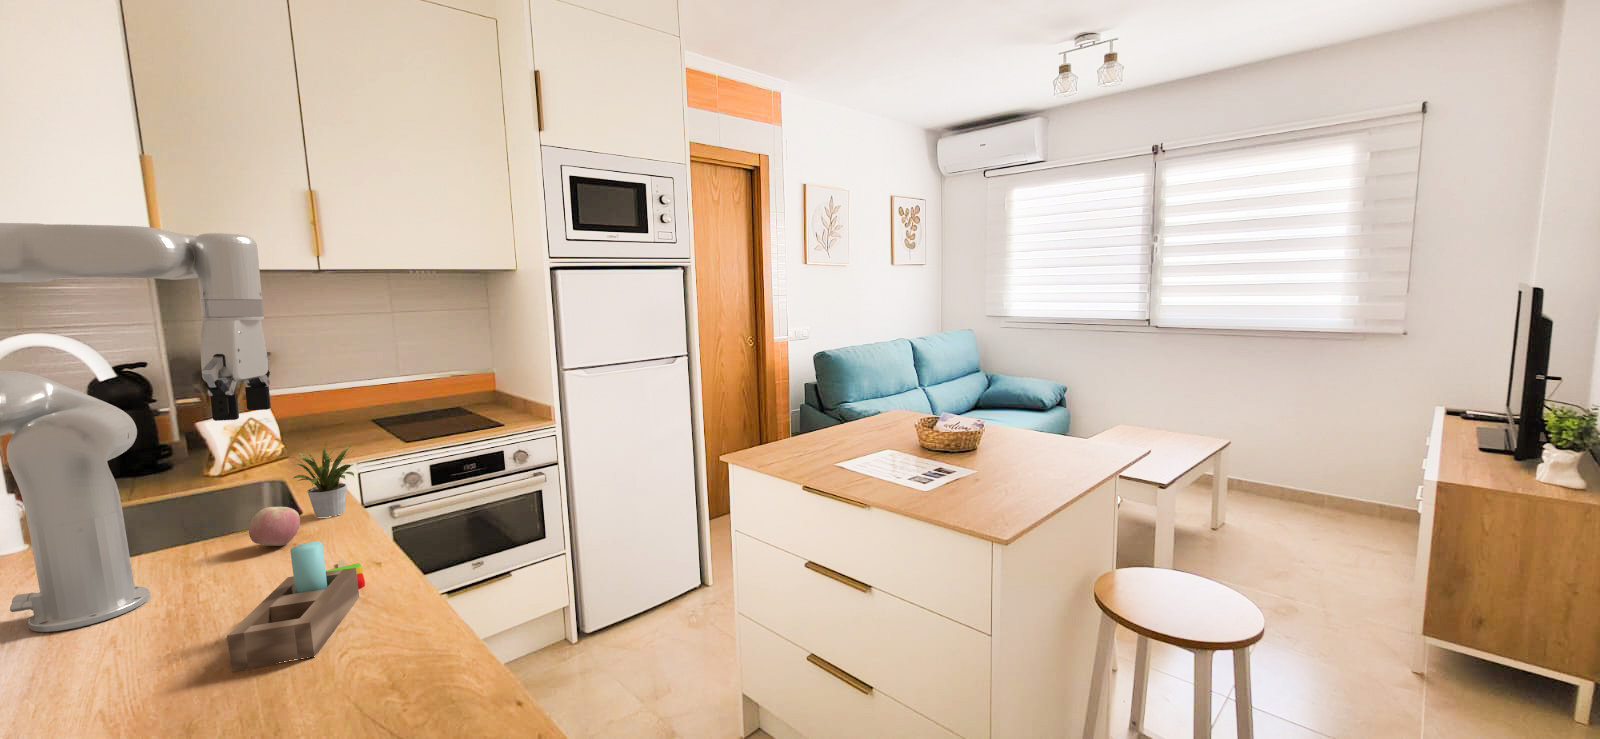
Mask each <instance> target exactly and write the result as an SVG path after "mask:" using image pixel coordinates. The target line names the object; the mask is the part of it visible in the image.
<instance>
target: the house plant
mask: <svg viewBox="0 0 1600 739" xmlns="http://www.w3.org/2000/svg"><path fill="white" fill-rule="evenodd" d="M326 446H327V443H325V444H324V446H323V448H322V456H321V466H318V464H317V463H316V461H315V459H314V457H313V456H312V455H311V453H310V452H308V451H305V450H303V452H305V453H307V455H308V456H309V457H310V458H311V459H310V458H308V457H307V455H305V454H303V453H300V452H298V456H299V457H300V459H297V458H295V457H292V456H287V455H286V456H285V455H280V456H279V455H278V456H276V457H283V458H284V457H286V458H287V457H288V458H292V459H294V460H296V461H298V462H300V463H297V464H294V466H295V465H298V466H300V467H302V468H303V469H304V470H305V471H306V472H307V473H308V474H309V475H310V476H311V477H312V478H311V477H309V476H308V475H305V474H298V475H295V476H293V478H292V480H293V479H298V478H299V479H298V480H297V482H299V481H303V480H305V481H310V482H311V484H312V487H311V488H309V489H308V490H307V494H308V498H309V500H310V503H311V507H312V509H313V512H314V515H315V517H329V516H335V515H338V514H341V513H343V512H344V511H345V512H346V500H347V499H346V498H347V488H348V485H347V484H346V483H342V482H340V480H341V478H342V479H344V480H347V479H346V475H345V474H347V475H351V476H353V478H356V477H355V473H354V472H353V471H347V470H349V469H350V468H351V467H353V466H354V464H353V463H352V464H348V463H347V464H344V465H341V466H340V464H341V462H342V460H344V459H345V457H346V456H347V455H349V454H350V453H352V452H354V450H352V451H350V452H349V453H347V451H348V450H349V449H350V448H352V445H350V446H348V447H345V448H344V449H342V451H341V452H340V453H339V454H338V455H337V457H335V456H334V457H331V458H330V455H331V454H332V453H333V452H334V451H335V450H336V449H337V448H338V446H337V447H335V448H334V449H333V450H332V451H331V452H330V453H328V451H327V450H326ZM346 453H347V454H346ZM332 459H335V460H334V461H333V460H332ZM300 460H302V461H304V462H305V463H306V464H308V465H309V466H310V467H311V469H312V470H313V471H314V472H313V471H312V470H311V469H310V468H309V467H308V466H306V465H305V464H304V463H303V462H302V461H300ZM331 462H333V463H332V467H331V469H330V464H331ZM339 466H340V467H339ZM313 485H314V487H313ZM345 512H344V513H345ZM344 513H343V514H344Z"/></svg>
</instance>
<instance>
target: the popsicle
mask: <svg viewBox="0 0 1600 739" xmlns="http://www.w3.org/2000/svg"><path fill="white" fill-rule="evenodd" d="M350 568H356V573H357V582H358V590H361V589H363V588H364V587H365V586H366V582H365V576H364V573H363V572H364V571H363V567H362V564H361V563H360V562H357V563H352V564H349V565H346V563H345V560H344V559H342V560H341V559H340V560H338V561H337V567H335V568H331V569H325V571H326V572H328V571H336V570H343V569H350Z"/></svg>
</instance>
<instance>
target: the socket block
mask: <svg viewBox="0 0 1600 739" xmlns="http://www.w3.org/2000/svg"><path fill="white" fill-rule="evenodd" d="M326 579H327V588H326V589H324V590H317V591H310V592H303V593H295V584H294V576H293V575H292V576H288V577H287V578H285V579H284V580H283V581H282V582H281V583H280V584H279V585H278V586H277V587H276V588H275V589H274V590H273V591H272V592H271V593H270V594H268V596H266V598H265V599H264V600H262V601H261V602H260V603H259V604H258V605H257V606H256V607H255V608H254V609H253V610H252V611H251V612H250V613H249V614H248V615H246V616H245V617H244V618H243V619H242V620H241V621H240V622H239V623H238V624H237V625H236V626H235V627H234V628H233V629H232V630H231V631H229V632H228V633H227V634H226V639H227V640H226V641H227V649H228V655H229V663H230V669H231V672H232V673H233V671H234V672H238V670H239V671H243V670H251V669H256V668H255V667H257V668H262V667H267V666H266V665H268V666H272V665H271V664H274V665H277V664H276V663H279V662H284V661H289V660H294V659H301V658H307V657H314V656H315V655H316V654H317V655H318V654H319V652H320V651H321V650H322V648H323V647H324V645H325V644H326V643H327V641H329V639H330V637H331V636H332V635H333V633H334V632H335V630H337V628H338V626H339V625H340V624H341V623H342V622H343V620H344V619H345V617H346V616H347V614H348V613H349V612H350V611H351V609H352V607H354V605H355V604H356V602H357V601H358V600H359V598H360V592H359V589H358V582H357V573H356V568H350V569H343V570H336V571H328V572H326ZM317 655H316V656H317ZM316 656H315V657H316ZM315 657H314V658H315Z"/></svg>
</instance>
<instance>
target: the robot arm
mask: <svg viewBox="0 0 1600 739" xmlns="http://www.w3.org/2000/svg"><path fill="white" fill-rule="evenodd" d="M74 278H75V279H76V278H77V279H78V278H86V279H88V278H95V279H96V278H101V279H102V278H105V279H106V278H108V279H109V278H110V279H111V278H112V279H114V278H117V279H118V278H119V279H120V278H125V279H126V278H129V279H130V278H132V279H134V278H135V279H160V280H171V281H175V280H177V281H178V280H188V279H189V280H190V279H197V281H198V292H199V299H200V300H199V302H200V310H201V318H202V319H201V320H202V323H201V332H200V363H201V377H202V379H203V381H204V386H205V388H206V389H207V394H208V396H209V398H210V405H211V406H210V407H211V416H212V420H213V421H215V422H220V421H221V422H222V421H235V420H239V418H240V416H239V415H240V413H239V402H238V394H234V392H235V390H236V386H237V383H238V382H243V381H244V382H245V383H246V385H247V386H246V387H244V391H245V393H244V394H245V402H246V409H247V410H248V411H264V410H266V411H267V410H270V409H271V407H272V404H271V395H270V385H271V382H270V381H271V380H270V379H269V378H270V375H271V372H270V367H271V366H270V365H271V359H270V358H269V357H268V351H267V343H266V338H265V333H264V328H263V324H262V321H261V320H265V317H264V315H265V314H264V313H265V312H264V305H263V303H264V302H263V294H262V284H261V272H260V262H259V252H258V245H257V242H256V241H255V239H254V238H253V237H250V236H248V235H244V234H235V233H224V232H223V233H220V232H218V233H216V232H215V233H214V232H209V233H200V234H199V235H191V234H184V233H177V232H173V231H170V230H169V231H168V230H164V229H161V228H160V229H159V228H155V227H148V226H140V225H138V226H136V225H109V224H108V225H106V224H102V225H101V224H70V223H69V224H68V223H67V224H65V223H64V224H62V223H61V224H58V223H56V224H55V223H54V224H52V223H51V224H45V223H31V222H30V223H27V222H25V223H23V222H0V283H30V284H31V283H48V282H51V281H53V280H57V279H58V280H59V279H74ZM6 434H12V436H11V437H10V439H9V440H8V444H7V447H6V460H7V464H8V467H9V469H10V471H11V473H12V475H13V477H14V481H15V482H16V485H17V487H18V489H19V493H20V496H21V499H22V503H23V504H22V505H23V507H24V513H25V517H26V518H25V519H26V524H27V527H28V531H29V536H30V542H31V549H32V555H33V560H34V565H35V572H36V578H37V583H38V587H39V592H28V593H21V594H16V595H14V596H13V598H12V599H11V604H10V605H9V611H10V612H11V613H16V612H24V611H26V610H30V611H32V613H33V615H32V616H31V617H30V618H29V619H28V622H27V623H28V628H29V629H30V630H31V631H34V632H41V633H45V632H46V633H50V632H59V631H60V632H61V631H65V630H72V629H77V628H81V627H85V626H89V625H94V624H96V623H100V622H104V621H106V620H110V619H113V618H115V617H119V616H120V615H123V614H124V615H125V614H126V613H128V612H130V611H132V610H134V609H137V608H139V607H140V606H142V605H143V604H145V603H146V602H147V601H148V600H149V599H150V597H151V593H150V589H149V588H148V587H145V586H140V585H139V586H138V585H135V582H134V576H133V569H132V561H131V555H130V550H129V545H128V538H127V533H126V532H127V530H126V525H125V519H124V513H123V512H124V511H123V508H122V502H121V497H120V490H119V488H118V484H117V481H116V479H115V477H114V475H113V473H112V471H111V469H110V467H109V463H108V461H111V460H112V459H115V458H117V457H119V456H120V455H122V454H123V453H125V452H127V451H128V450H129V449H130V448H131V447H133V445H134V443H135V441H136V439H137V435H138V429H137V425H136V423H135V421H134V420H133V418H132V417H131V416H130V415H129V413H127V412H125V410H122V409H121V408H119V407H117V406H115V405H113V404H110V403H108V402H106V401H104V400H101V399H99V398H97V397H94V396H92V395H88V394H86V393H84V392H81V391H79V390H76V389H74V388H72V387H69V386H67V385H64V384H62V383H60V382H57V381H54V380H53V379H49V378H46V377H44V376H41V375H38V374H34V373H30V372H26V371H19V370H0V436H3V435H6Z"/></svg>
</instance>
